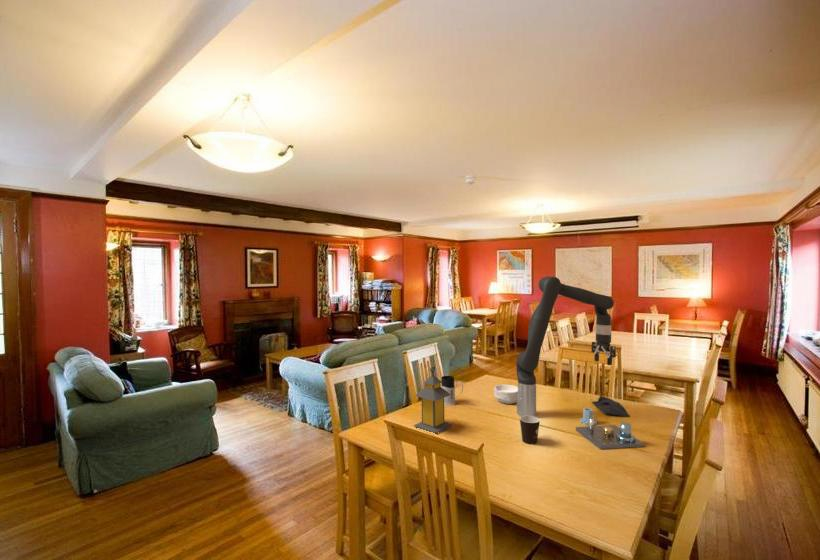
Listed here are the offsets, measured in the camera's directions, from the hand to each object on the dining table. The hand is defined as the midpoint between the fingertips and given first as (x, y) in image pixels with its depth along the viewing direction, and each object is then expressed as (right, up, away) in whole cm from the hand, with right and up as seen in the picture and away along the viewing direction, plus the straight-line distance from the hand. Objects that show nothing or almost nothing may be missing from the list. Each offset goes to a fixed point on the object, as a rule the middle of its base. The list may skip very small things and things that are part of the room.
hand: (603, 363), depth 207 cm
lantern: (-92, -28, -16) cm, 98 cm away
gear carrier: (-13, -27, -31) cm, 44 cm away
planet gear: (-14, -27, -13) cm, 33 cm away
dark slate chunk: (+6, -27, +5) cm, 28 cm away
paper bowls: (-46, -27, +20) cm, 57 cm away
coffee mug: (-48, -28, -33) cm, 65 cm away
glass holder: (-79, -28, +17) cm, 85 cm away
